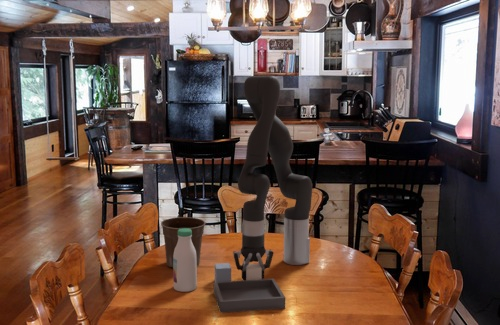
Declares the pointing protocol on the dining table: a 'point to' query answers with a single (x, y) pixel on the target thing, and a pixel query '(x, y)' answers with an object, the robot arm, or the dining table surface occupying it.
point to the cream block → (253, 271)
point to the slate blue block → (222, 272)
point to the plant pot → (171, 235)
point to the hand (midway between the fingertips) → (252, 280)
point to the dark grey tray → (248, 295)
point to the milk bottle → (184, 262)
